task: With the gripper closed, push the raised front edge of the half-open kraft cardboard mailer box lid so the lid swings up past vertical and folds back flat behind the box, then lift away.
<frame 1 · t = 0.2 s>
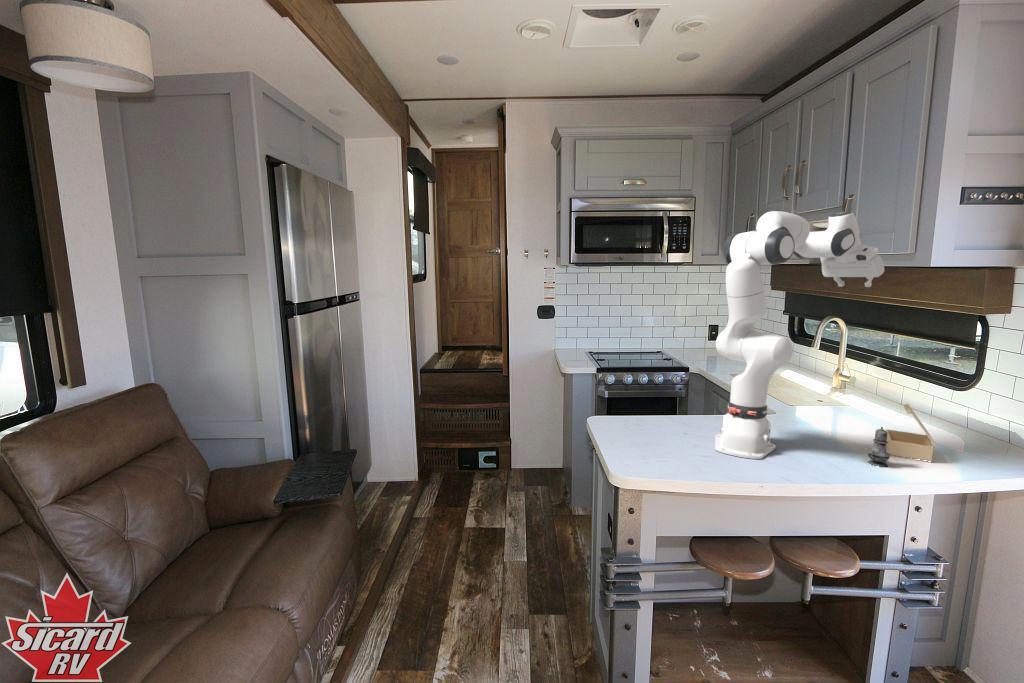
hand: (854, 286, 184), 54 cm above the countertop, tool tilted 30°, fingers open, 8 cm apart
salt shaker: (877, 464, 149), on the countertop
mailer box: (906, 452, 159), on the countertop
lid: (918, 424, 157), point 10 cm above the countertop, hinge at 55.0°
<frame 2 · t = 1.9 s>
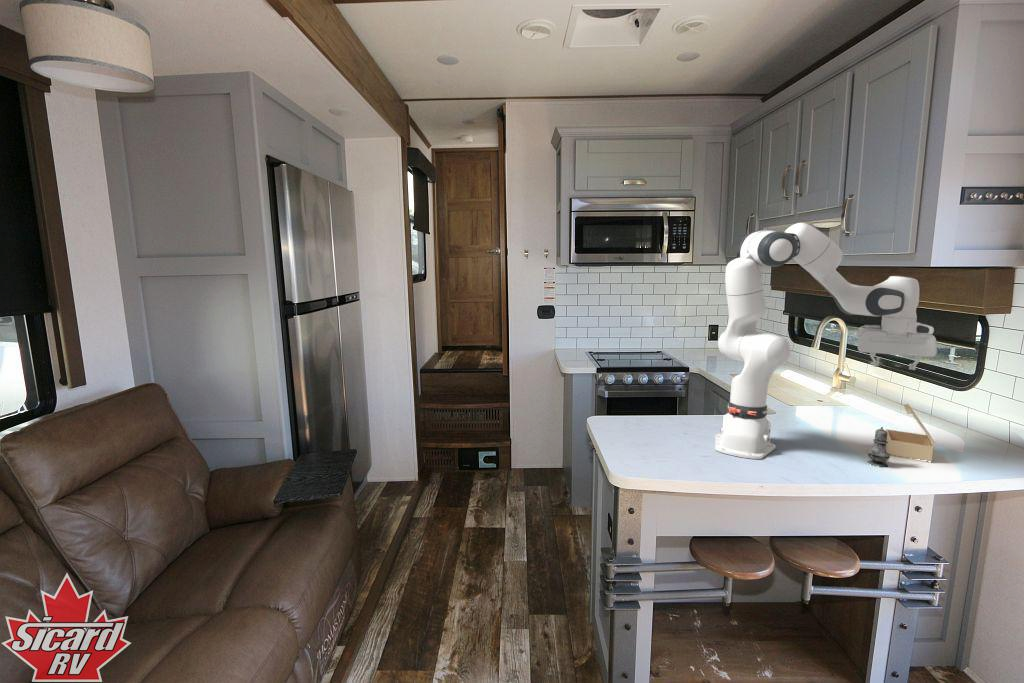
hand: (893, 367, 158), 28 cm above the countertop, tool pointing down, fingers open, 8 cm apart
nothing on the countertop moved.
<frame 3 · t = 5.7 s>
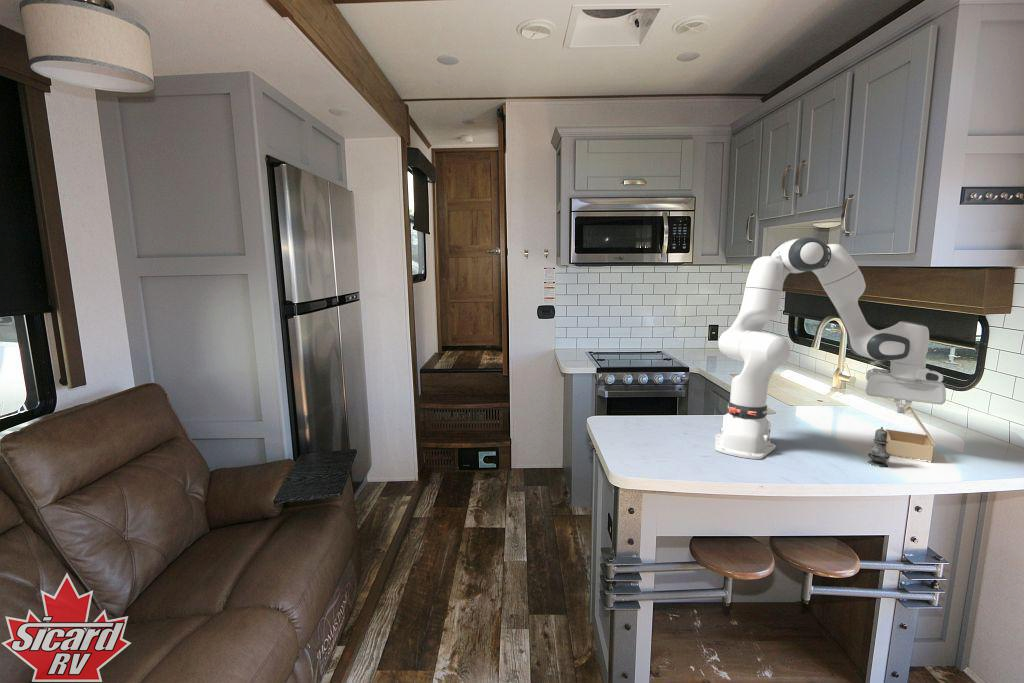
hand: (901, 412, 158), 13 cm above the countertop, tool pointing down, fingers closed, pressing on lid
lid: (918, 424, 157), point 10 cm above the countertop, hinge at 55.1°, touching gripper
everything else where it was.
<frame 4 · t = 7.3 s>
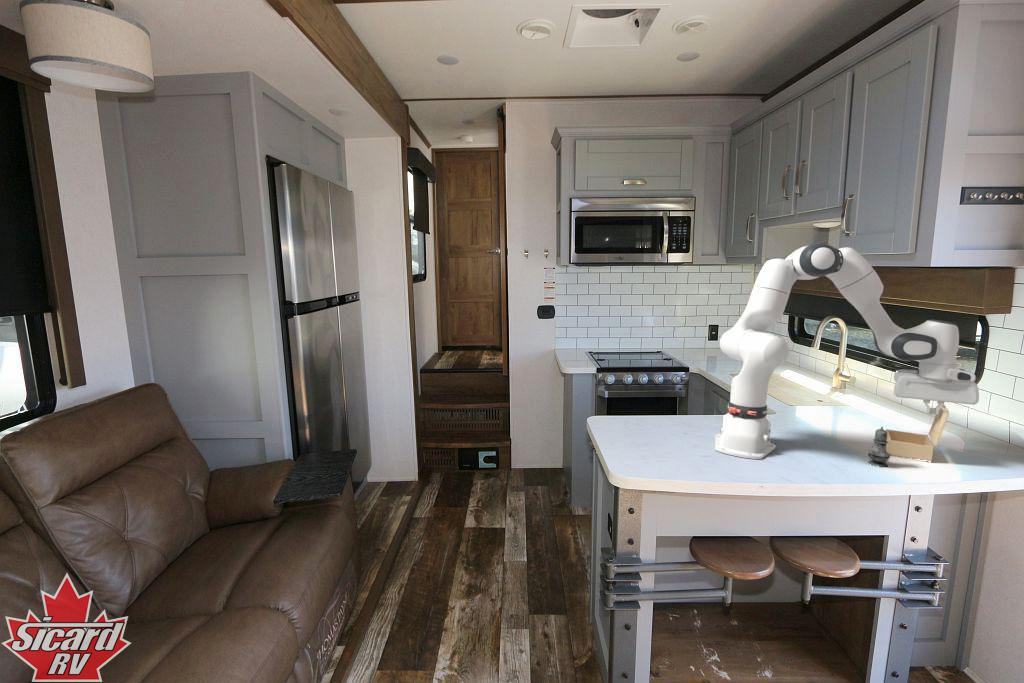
hand: (932, 414, 154), 14 cm above the countertop, tool pointing down, fingers closed
lid: (937, 423, 154), point 11 cm above the countertop, hinge at 99.6°, touching gripper
everything else where it was.
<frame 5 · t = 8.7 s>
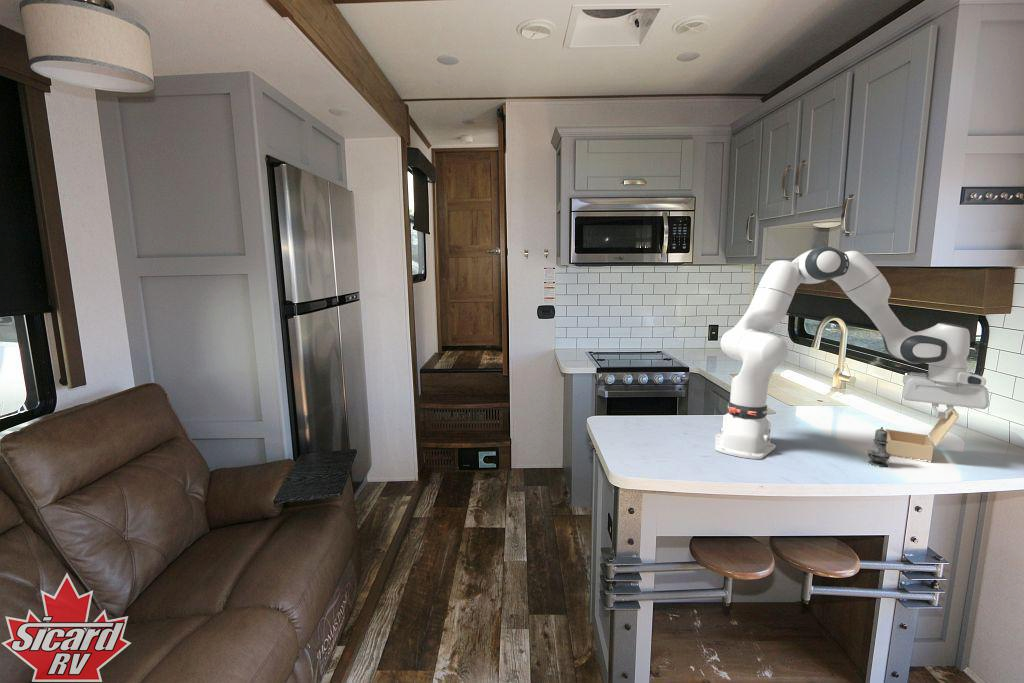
hand: (940, 417, 152), 13 cm above the countertop, tool pointing down, fingers closed
lid: (942, 424, 153), point 11 cm above the countertop, hinge at 111.7°, touching gripper
everything else where it was.
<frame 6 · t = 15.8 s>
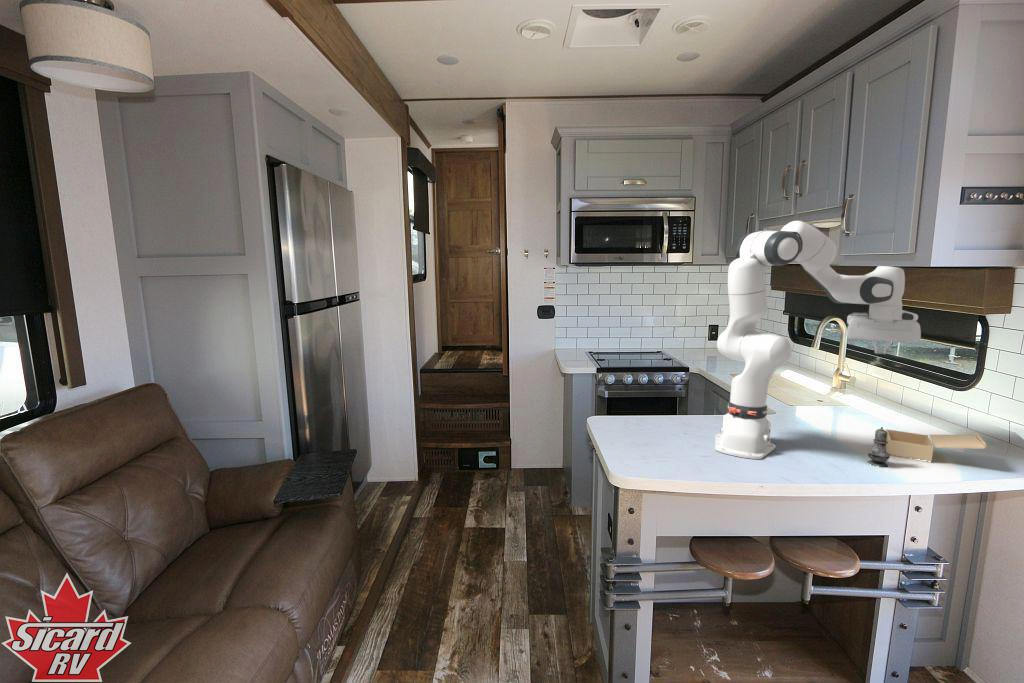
hand: (880, 353, 166), 31 cm above the countertop, tool pointing down, fingers closed
lid: (956, 439, 152), point 7 cm above the countertop, hinge at 168.9°
everything else where it was.
at the end: lid at +169° (first picture: +55°) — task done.
